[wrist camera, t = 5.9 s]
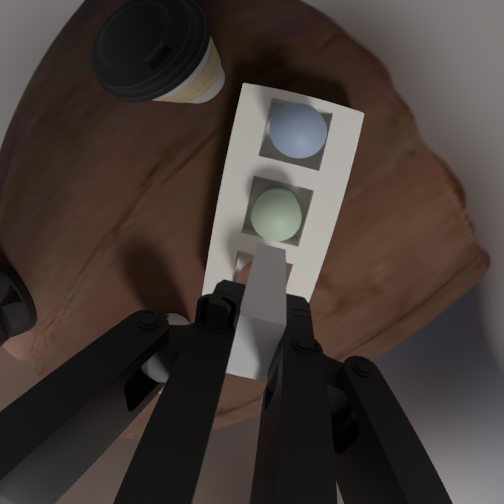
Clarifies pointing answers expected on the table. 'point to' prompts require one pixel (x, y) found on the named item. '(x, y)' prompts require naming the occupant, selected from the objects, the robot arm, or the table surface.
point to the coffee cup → (157, 53)
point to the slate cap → (298, 130)
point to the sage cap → (276, 214)
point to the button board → (280, 174)
